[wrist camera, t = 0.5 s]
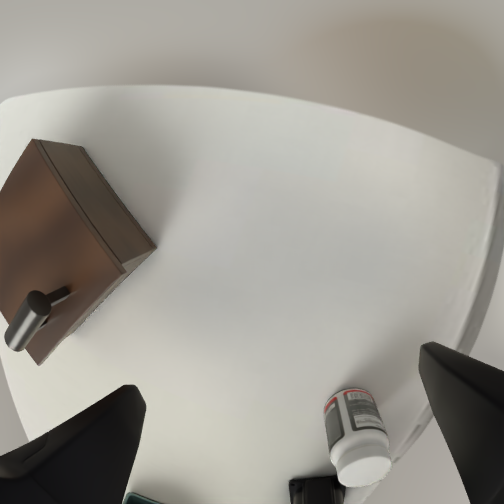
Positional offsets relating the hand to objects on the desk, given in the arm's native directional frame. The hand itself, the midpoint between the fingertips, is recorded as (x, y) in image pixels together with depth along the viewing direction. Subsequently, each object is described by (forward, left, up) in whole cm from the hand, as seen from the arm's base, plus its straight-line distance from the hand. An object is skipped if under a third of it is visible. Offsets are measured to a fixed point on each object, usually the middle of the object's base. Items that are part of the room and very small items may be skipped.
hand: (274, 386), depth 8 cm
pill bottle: (-14, -5, -15) cm, 21 cm away
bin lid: (+4, +18, -9) cm, 20 cm away
